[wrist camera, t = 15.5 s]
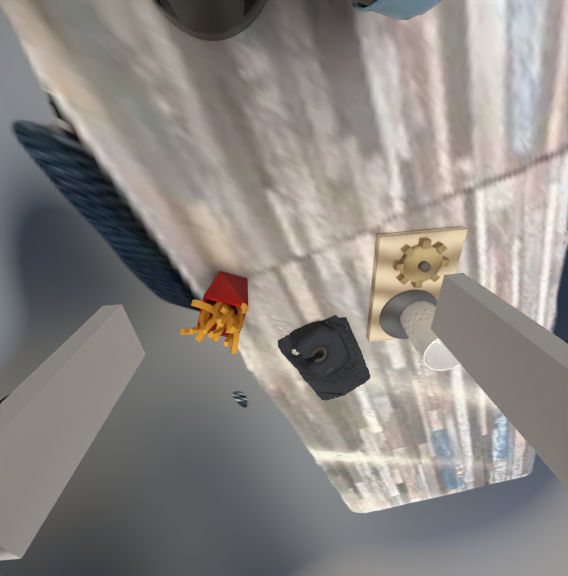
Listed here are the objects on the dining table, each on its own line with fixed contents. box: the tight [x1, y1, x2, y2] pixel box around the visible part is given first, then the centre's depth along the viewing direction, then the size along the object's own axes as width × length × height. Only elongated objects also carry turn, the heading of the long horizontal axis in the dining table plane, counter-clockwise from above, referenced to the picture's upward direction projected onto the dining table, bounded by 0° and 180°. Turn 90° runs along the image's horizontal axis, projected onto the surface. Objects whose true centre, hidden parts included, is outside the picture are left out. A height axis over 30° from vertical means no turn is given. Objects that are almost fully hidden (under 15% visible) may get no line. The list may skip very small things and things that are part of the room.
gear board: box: [367, 227, 467, 342], centre depth 46 cm, size 22×14×4 cm, turn 5°
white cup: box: [400, 301, 461, 371], centre depth 44 cm, size 8×8×10 cm
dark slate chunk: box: [278, 315, 370, 400], centre depth 54 cm, size 15×22×5 cm
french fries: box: [180, 271, 248, 354], centre depth 39 cm, size 9×8×15 cm
